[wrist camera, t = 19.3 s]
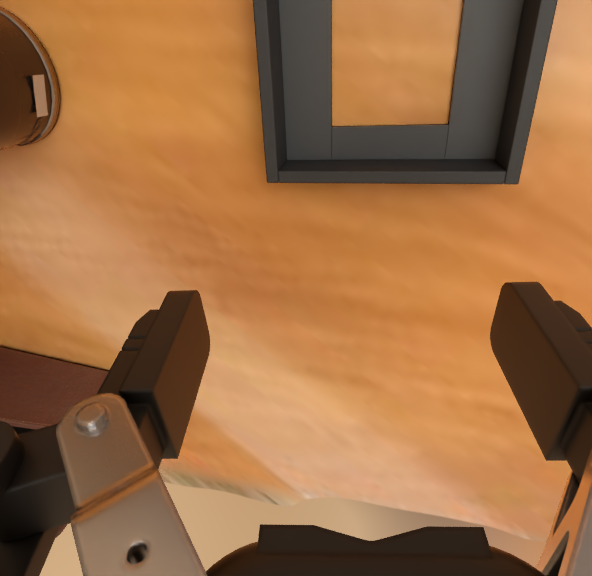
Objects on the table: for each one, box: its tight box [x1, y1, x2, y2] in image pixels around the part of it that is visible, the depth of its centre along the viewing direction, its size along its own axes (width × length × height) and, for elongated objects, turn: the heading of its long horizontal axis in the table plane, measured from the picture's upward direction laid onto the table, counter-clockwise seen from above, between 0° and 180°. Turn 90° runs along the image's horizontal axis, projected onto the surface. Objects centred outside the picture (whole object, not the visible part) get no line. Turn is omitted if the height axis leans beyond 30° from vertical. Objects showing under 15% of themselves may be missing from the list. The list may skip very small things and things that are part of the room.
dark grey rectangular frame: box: [253, 0, 557, 184], centre depth 25 cm, size 16×14×3 cm
